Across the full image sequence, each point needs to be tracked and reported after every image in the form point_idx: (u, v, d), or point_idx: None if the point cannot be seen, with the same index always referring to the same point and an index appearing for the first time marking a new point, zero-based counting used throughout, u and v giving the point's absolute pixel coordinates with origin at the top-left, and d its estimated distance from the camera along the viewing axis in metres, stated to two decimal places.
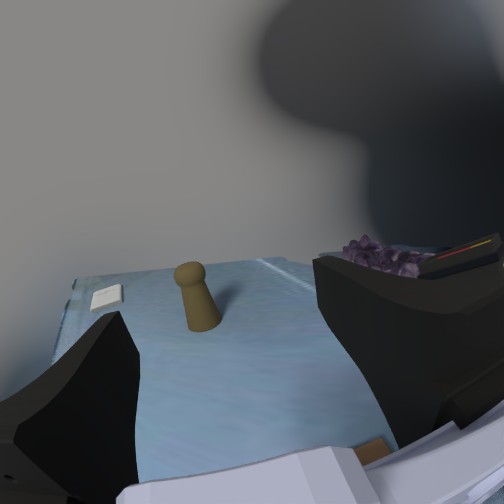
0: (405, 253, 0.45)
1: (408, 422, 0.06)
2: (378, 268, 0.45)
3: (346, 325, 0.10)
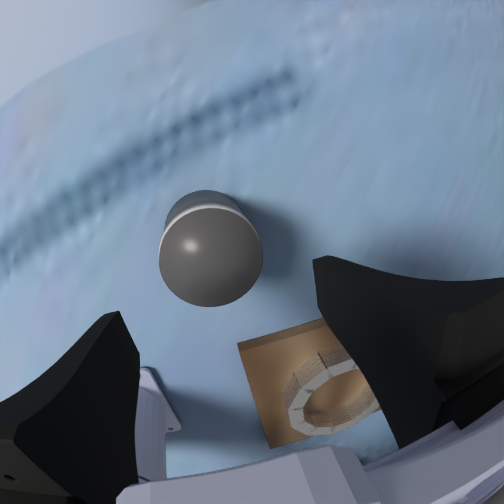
0: None
1: (408, 422, 0.06)
2: None
3: (345, 324, 0.10)
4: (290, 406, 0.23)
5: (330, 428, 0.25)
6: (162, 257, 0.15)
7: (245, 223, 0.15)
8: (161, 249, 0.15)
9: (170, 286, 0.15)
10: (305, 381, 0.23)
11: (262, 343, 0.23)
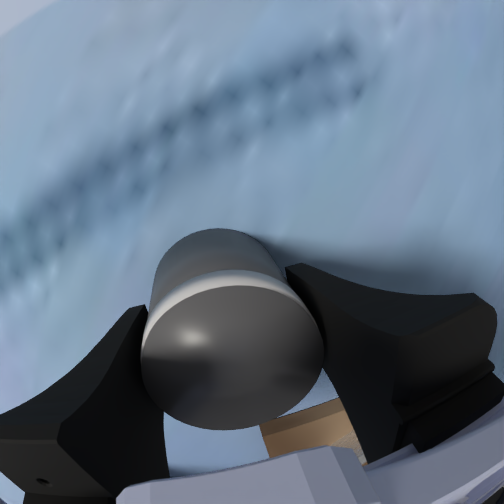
0: None
1: (372, 439, 0.06)
2: None
3: None
4: None
5: None
6: (147, 371, 0.08)
7: (300, 313, 0.08)
8: (144, 359, 0.08)
9: (165, 408, 0.08)
10: None
11: (293, 424, 0.16)
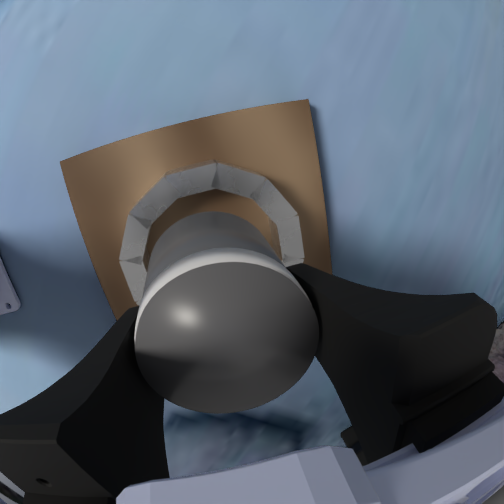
0: None
1: (373, 439, 0.06)
2: None
3: None
4: (121, 252, 0.15)
5: None
6: (142, 358, 0.08)
7: (286, 284, 0.08)
8: (137, 346, 0.08)
9: (166, 395, 0.08)
10: (137, 203, 0.15)
11: (88, 151, 0.15)
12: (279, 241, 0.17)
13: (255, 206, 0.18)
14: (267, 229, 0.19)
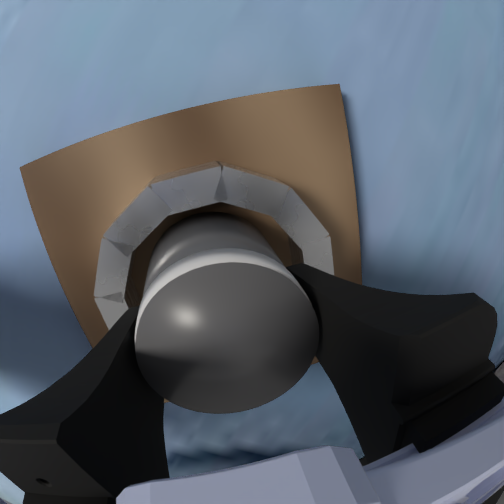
0: None
1: (373, 439, 0.06)
2: None
3: None
4: (96, 287, 0.11)
5: None
6: (142, 359, 0.08)
7: (286, 285, 0.08)
8: (137, 347, 0.08)
9: (166, 395, 0.08)
10: (113, 223, 0.11)
11: None
12: None
13: (271, 222, 0.14)
14: (286, 251, 0.14)
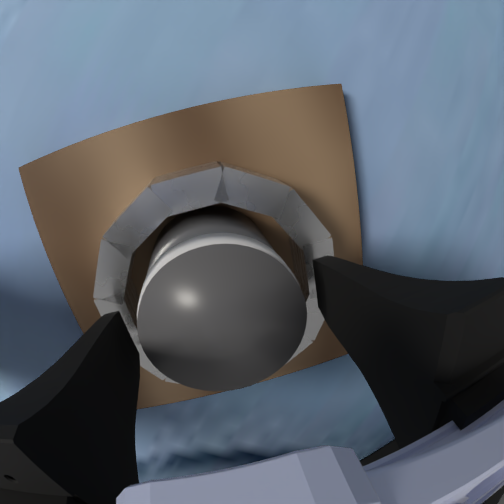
0: None
1: (408, 422, 0.06)
2: None
3: (346, 324, 0.10)
4: (95, 288, 0.11)
5: None
6: (143, 333, 0.09)
7: (274, 264, 0.09)
8: (139, 322, 0.09)
9: (165, 371, 0.09)
10: (112, 224, 0.11)
11: None
12: (306, 271, 0.13)
13: (273, 223, 0.14)
14: (287, 252, 0.14)
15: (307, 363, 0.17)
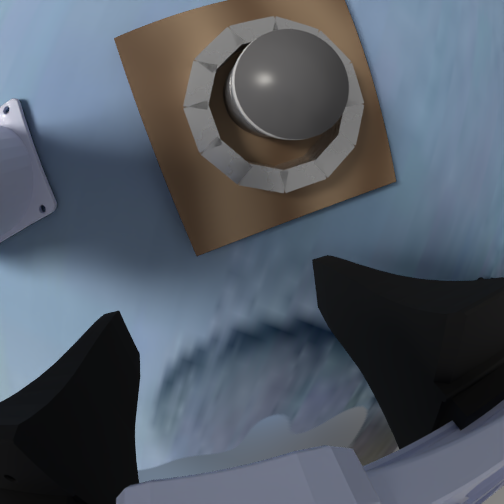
0: None
1: (408, 422, 0.06)
2: None
3: (346, 324, 0.10)
4: (185, 98, 0.14)
5: (278, 174, 0.16)
6: (240, 83, 0.12)
7: (321, 40, 0.11)
8: (237, 74, 0.12)
9: (254, 117, 0.12)
10: (201, 52, 0.14)
11: None
12: None
13: None
14: None
15: (352, 191, 0.20)
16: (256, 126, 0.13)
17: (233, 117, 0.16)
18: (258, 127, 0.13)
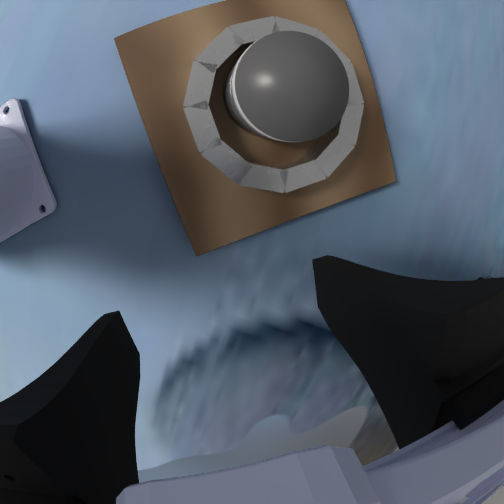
0: None
1: (408, 422, 0.06)
2: None
3: (346, 325, 0.10)
4: (185, 98, 0.14)
5: (278, 174, 0.16)
6: (240, 85, 0.12)
7: (322, 42, 0.11)
8: (238, 76, 0.12)
9: (254, 119, 0.12)
10: (201, 52, 0.14)
11: None
12: None
13: None
14: None
15: (352, 191, 0.20)
16: (256, 128, 0.13)
17: (233, 117, 0.16)
18: (258, 129, 0.13)
